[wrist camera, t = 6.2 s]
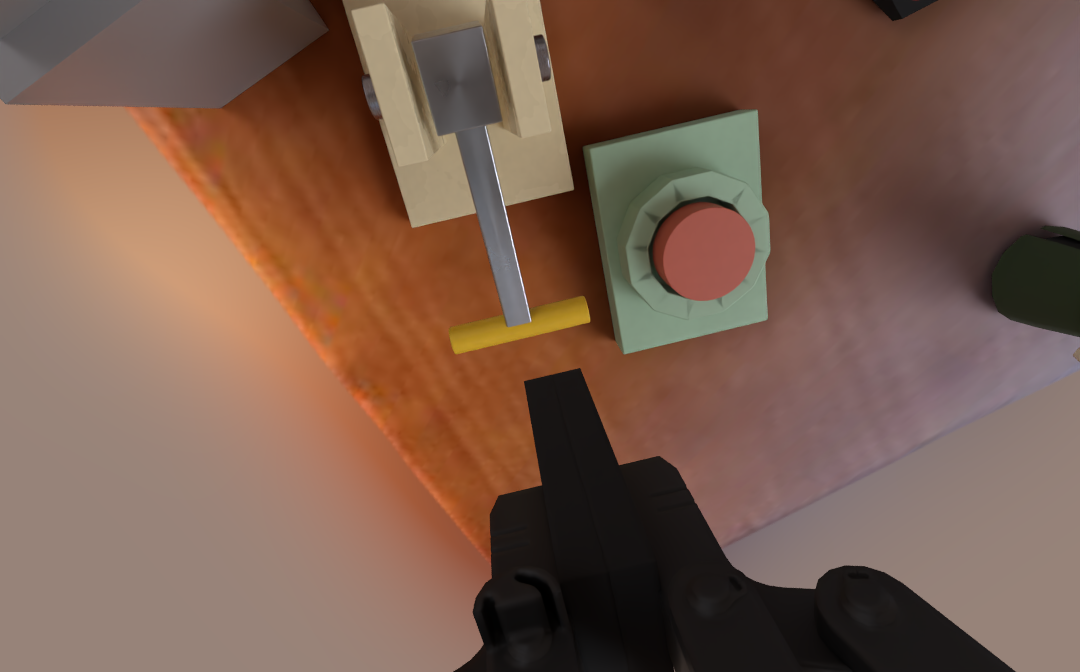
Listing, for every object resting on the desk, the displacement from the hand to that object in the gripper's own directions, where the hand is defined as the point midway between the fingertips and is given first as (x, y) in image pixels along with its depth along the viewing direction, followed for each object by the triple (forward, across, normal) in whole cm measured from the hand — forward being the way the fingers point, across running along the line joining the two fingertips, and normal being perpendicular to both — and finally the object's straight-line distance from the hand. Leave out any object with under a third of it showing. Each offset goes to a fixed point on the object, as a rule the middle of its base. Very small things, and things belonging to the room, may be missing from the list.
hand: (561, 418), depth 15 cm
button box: (+19, +9, -1) cm, 21 cm away
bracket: (+19, -1, +9) cm, 21 cm away
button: (+15, +9, -1) cm, 18 cm away
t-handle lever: (+10, -1, +5) cm, 11 cm away
